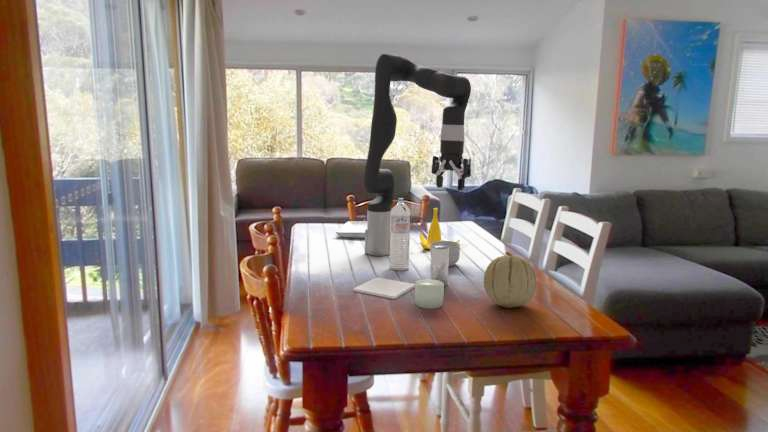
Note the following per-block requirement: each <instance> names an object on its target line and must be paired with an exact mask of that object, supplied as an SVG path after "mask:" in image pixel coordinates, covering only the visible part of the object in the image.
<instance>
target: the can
mask: <svg viewBox="0 0 768 432" xmlns="http://www.w3.org/2000/svg"><path fill="white" fill-rule="evenodd" d="M448 266H449V247H448V246H446V245H433V246H432V247H431V254H430V279H432V280H438V281H441V282H443V283H444V287H446V286H448V283H449V267H450V266H449V267H448Z"/></svg>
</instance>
